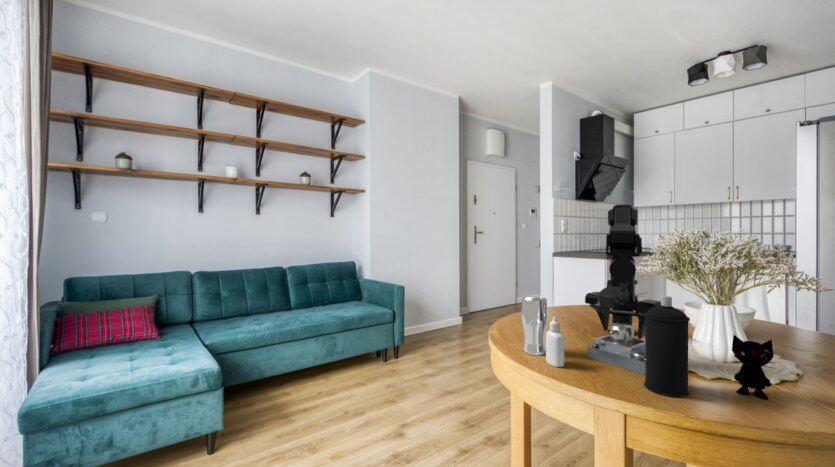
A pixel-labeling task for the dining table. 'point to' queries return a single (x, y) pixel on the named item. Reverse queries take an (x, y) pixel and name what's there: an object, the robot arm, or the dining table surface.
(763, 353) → the cat figurine
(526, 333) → the beer glass
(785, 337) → the dining table surface
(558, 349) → the eye dropper bottle
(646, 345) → the aerosol can
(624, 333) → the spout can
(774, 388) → the dining table surface
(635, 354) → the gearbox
